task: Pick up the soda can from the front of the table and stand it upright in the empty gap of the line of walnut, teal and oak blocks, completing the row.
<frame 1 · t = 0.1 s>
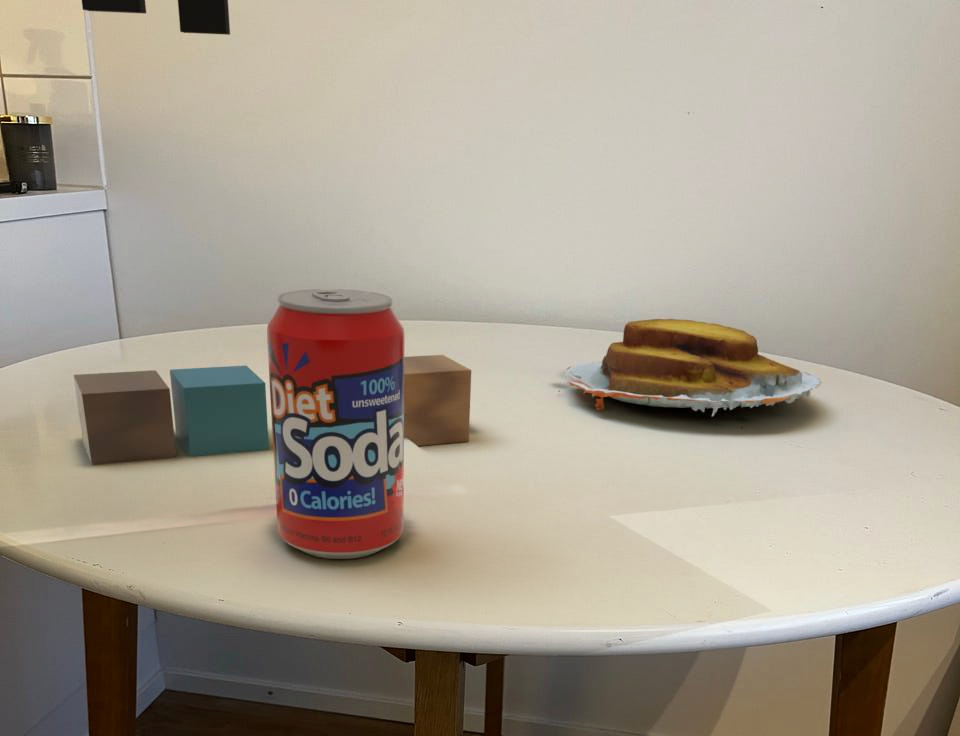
hand: (165, 24, 53), 28 cm above the table, tool pointing down, fingers open, 13 cm apart
walnut block: (130, 460, 77), on the table
soda can: (341, 545, 65), on the table
teal block: (222, 452, 80), on the table
food on plate: (686, 401, 102), on the table
oak block: (422, 434, 87), on the table
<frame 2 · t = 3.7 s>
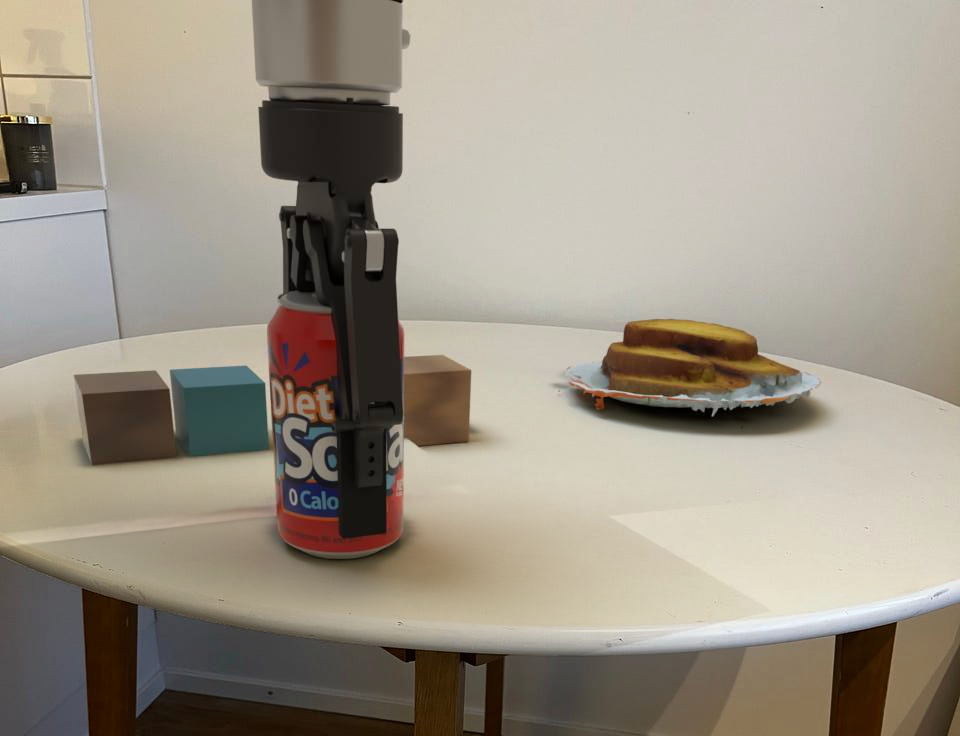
hand: (340, 509, 63), 2 cm above the table, tool pointing down, fingers closed on soda can, 8 cm apart
soda can: (341, 545, 65), on the table, touching gripper
everything else where it was.
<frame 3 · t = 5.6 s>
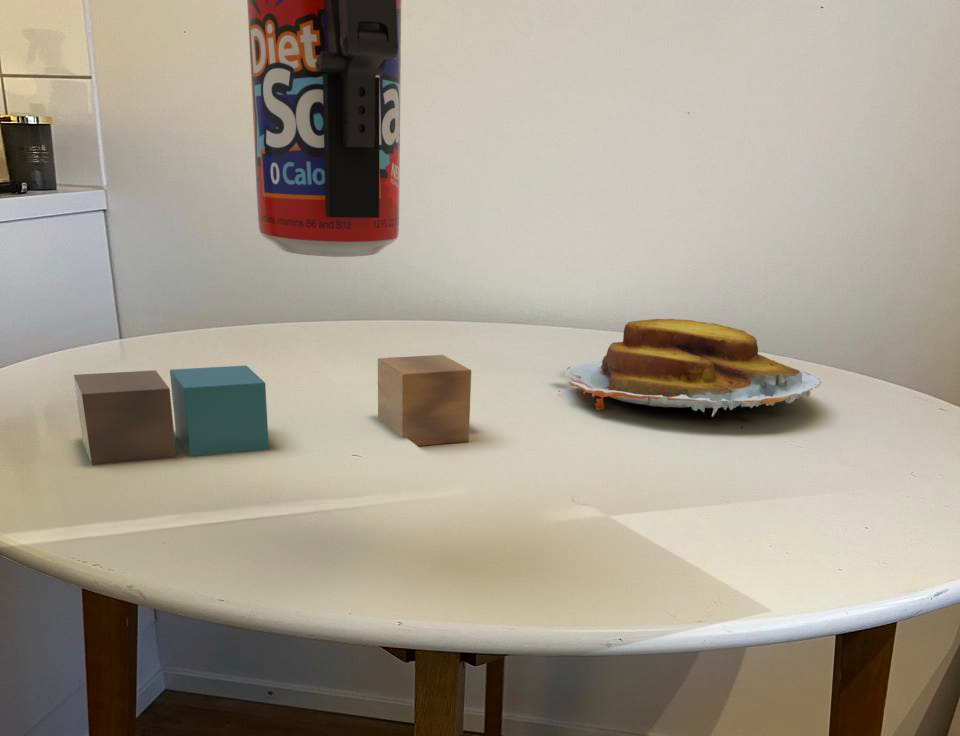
hand: (328, 208, 57), 19 cm above the table, tool pointing down, fingers closed on soda can, 8 cm apart
soda can: (329, 254, 58), point 17 cm above the table, touching gripper
everything else where it was.
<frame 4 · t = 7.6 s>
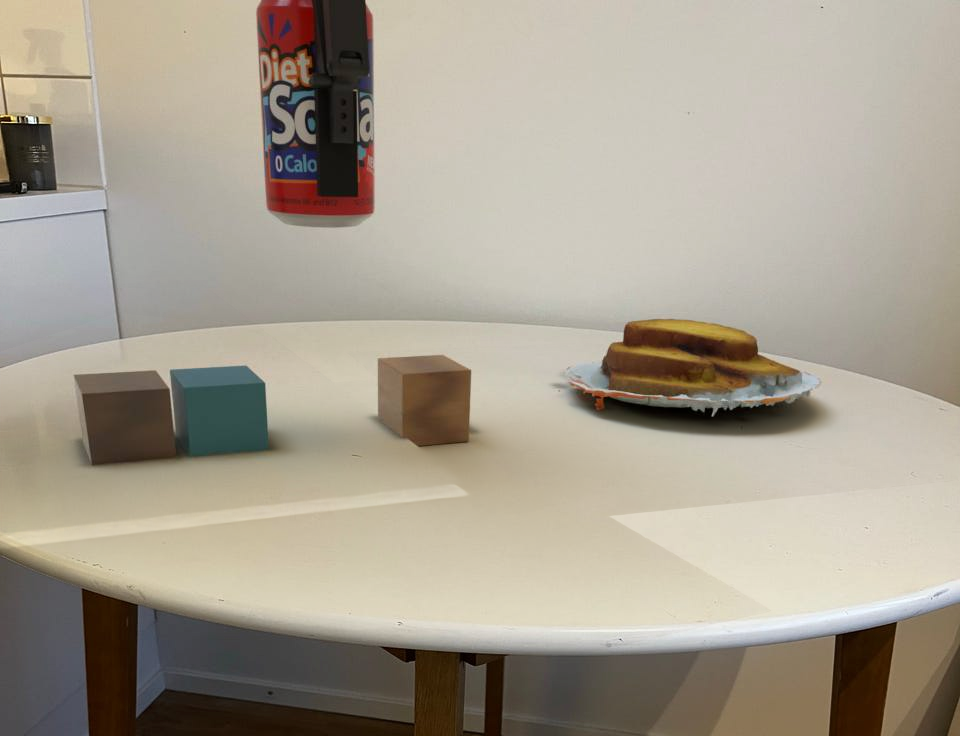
hand: (320, 191, 74), 19 cm above the table, tool pointing down, fingers closed on soda can, 8 cm apart
soda can: (321, 226, 75), point 17 cm above the table, touching gripper
everything else where it was.
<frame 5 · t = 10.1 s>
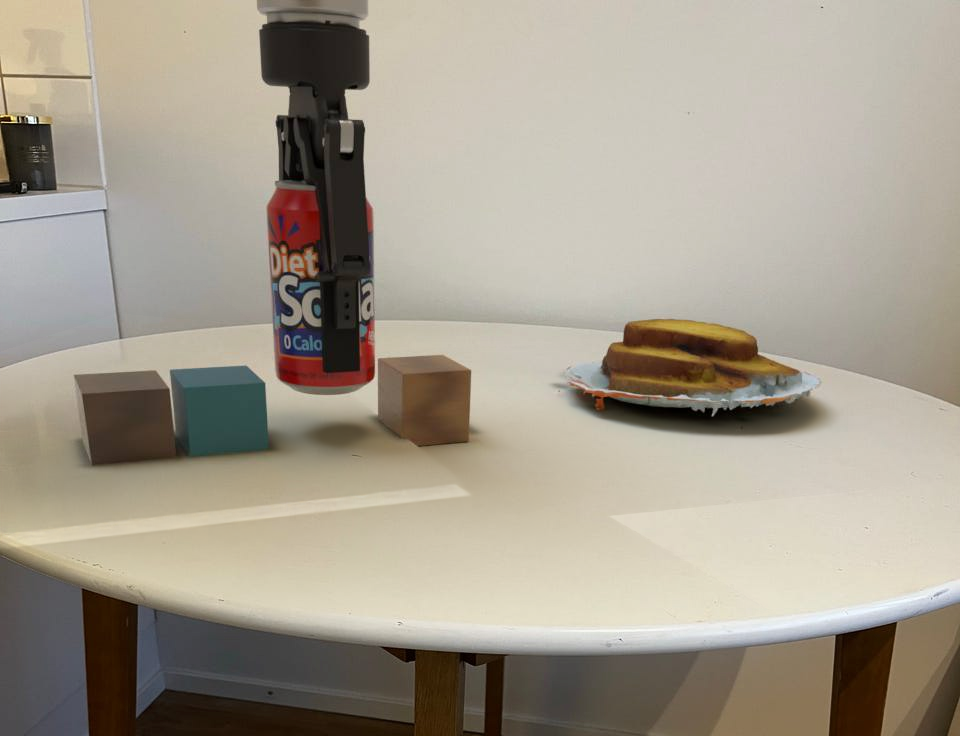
hand: (324, 358, 80), 7 cm above the table, tool pointing down, fingers closed on soda can, 8 cm apart
soda can: (326, 389, 81), point 4 cm above the table, touching gripper
everything else where it was.
when the fingers open (2 cm above the table, at t = 11.7 s): soda can stays where it is, on the table.
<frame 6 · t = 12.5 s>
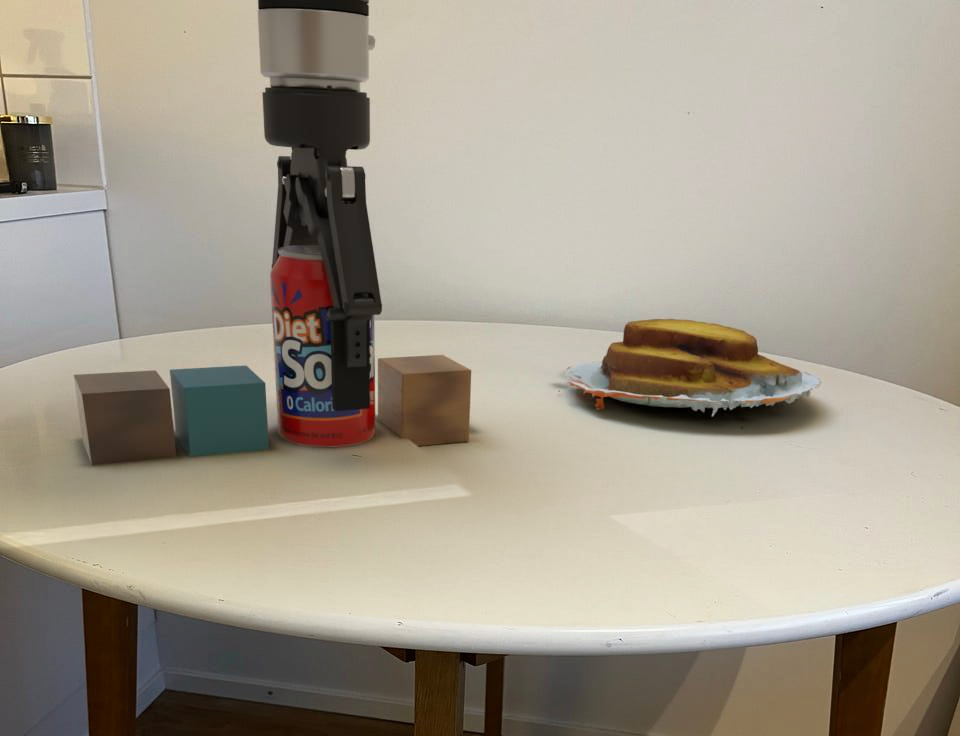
hand: (324, 387, 81), 5 cm above the table, tool pointing down, fingers open, 13 cm apart
soda can: (327, 445, 84), on the table
everything else where it was.
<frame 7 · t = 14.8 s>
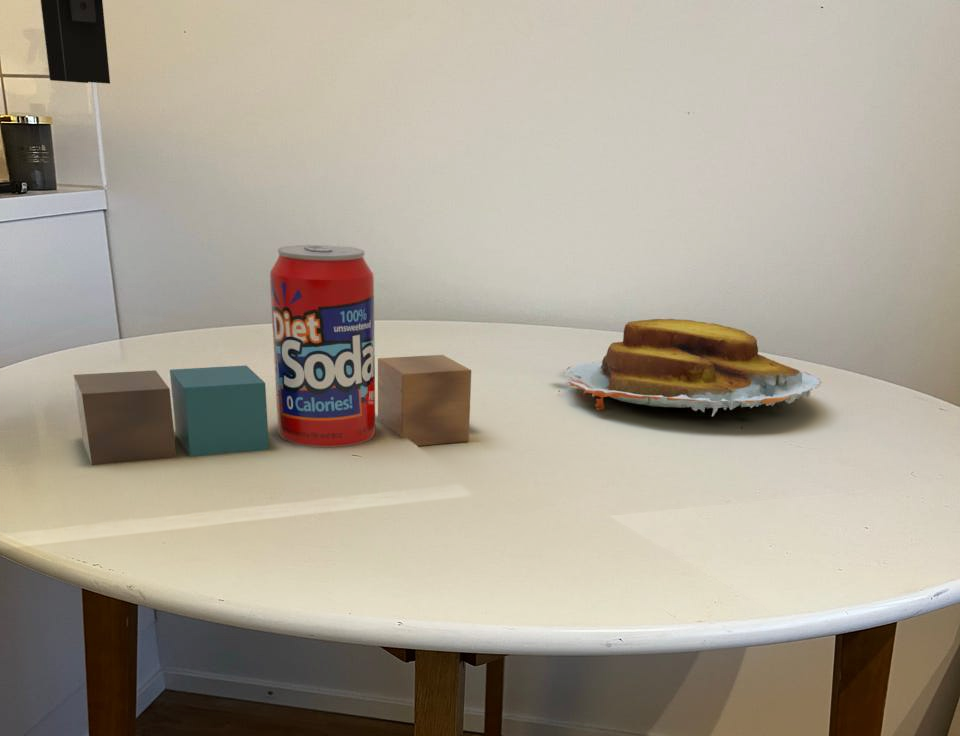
hand: (77, 82, 73), 25 cm above the table, tool pointing down, fingers open, 13 cm apart
nothing on the table moved.
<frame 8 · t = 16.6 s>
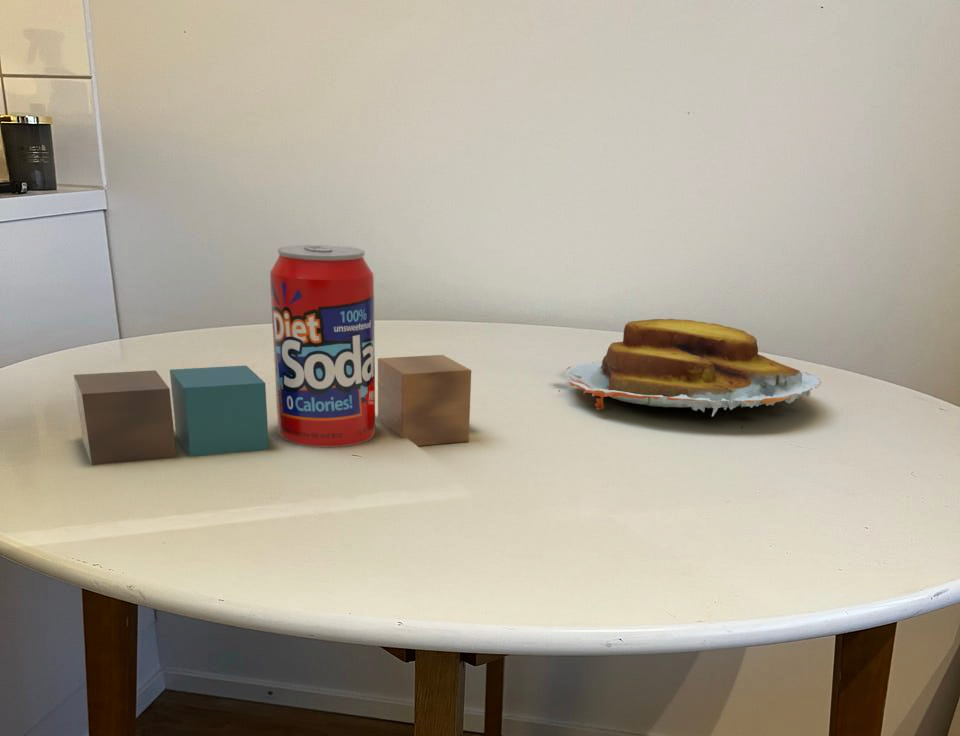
nothing on the table moved.
at the end: soda can 0.1 cm from the target spot on the table beside the teal block, on the table; soda can tilted 0°; oak block moved 0.0 cm from its start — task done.
